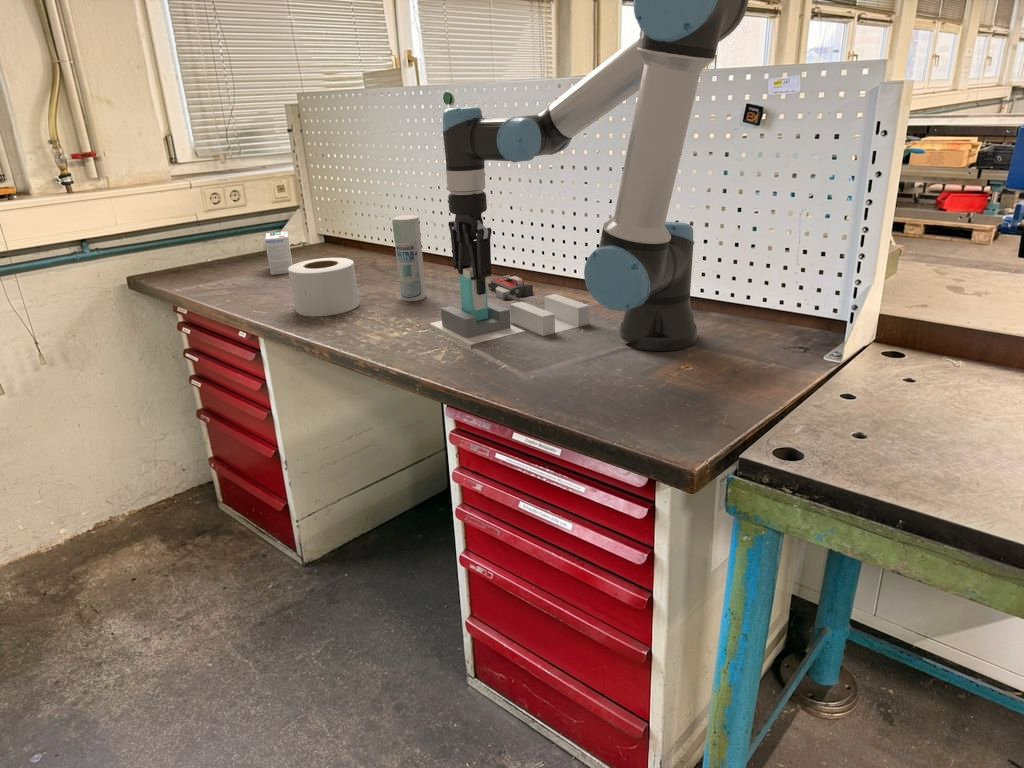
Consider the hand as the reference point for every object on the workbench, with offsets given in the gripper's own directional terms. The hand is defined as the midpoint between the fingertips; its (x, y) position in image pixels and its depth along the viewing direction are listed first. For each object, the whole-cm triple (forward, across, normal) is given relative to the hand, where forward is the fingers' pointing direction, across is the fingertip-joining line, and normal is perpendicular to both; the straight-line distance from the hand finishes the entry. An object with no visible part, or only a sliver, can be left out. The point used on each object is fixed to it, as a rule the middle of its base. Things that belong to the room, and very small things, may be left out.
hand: (474, 306), depth 145 cm
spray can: (+6, +34, -2) cm, 34 cm away
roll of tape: (+6, +41, +18) cm, 45 cm away
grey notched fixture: (+6, 0, 0) cm, 6 cm away
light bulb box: (+6, +91, +16) cm, 92 cm away
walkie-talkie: (+6, +19, -22) cm, 30 cm away
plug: (+3, 0, 0) cm, 3 cm away
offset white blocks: (+6, -8, -14) cm, 17 cm away
